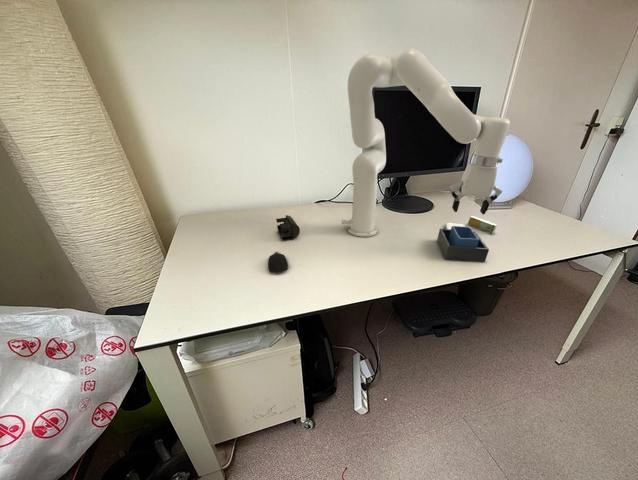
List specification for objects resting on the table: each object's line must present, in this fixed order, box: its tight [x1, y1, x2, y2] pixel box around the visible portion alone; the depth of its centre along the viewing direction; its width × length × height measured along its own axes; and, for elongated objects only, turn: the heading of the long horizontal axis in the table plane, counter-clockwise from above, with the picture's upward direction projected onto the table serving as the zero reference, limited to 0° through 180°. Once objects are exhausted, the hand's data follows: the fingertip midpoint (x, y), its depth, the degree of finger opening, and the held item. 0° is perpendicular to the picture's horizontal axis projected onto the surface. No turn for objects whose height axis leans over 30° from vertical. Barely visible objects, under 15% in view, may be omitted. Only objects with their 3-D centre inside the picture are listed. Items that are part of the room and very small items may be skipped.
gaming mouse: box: [267, 251, 289, 274], centre depth 93 cm, size 6×15×4 cm, turn 16°
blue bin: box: [448, 226, 479, 248], centre depth 104 cm, size 7×11×7 cm, turn 175°
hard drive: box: [444, 222, 466, 229], centre depth 120 cm, size 2×8×12 cm
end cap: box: [275, 214, 301, 242], centre depth 111 cm, size 10×7×7 cm
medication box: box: [467, 215, 498, 235], centre depth 123 cm, size 12×3×4 cm, turn 38°
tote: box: [436, 228, 490, 263], centre depth 105 cm, size 14×16×5 cm
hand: (468, 211), depth 98 cm, fingers open, 9 cm apart
